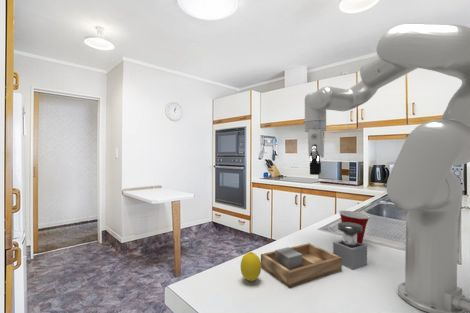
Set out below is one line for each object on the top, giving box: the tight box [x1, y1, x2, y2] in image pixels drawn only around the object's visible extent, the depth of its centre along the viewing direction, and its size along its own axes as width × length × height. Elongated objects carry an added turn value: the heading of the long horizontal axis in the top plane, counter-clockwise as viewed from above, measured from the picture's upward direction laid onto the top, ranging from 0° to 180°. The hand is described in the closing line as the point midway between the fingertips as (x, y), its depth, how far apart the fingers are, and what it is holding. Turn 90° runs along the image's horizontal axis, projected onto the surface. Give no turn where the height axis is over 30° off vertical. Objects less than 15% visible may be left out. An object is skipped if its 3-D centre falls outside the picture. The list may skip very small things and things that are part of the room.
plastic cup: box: [338, 210, 371, 244], centre depth 94 cm, size 11×11×12 cm
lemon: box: [240, 251, 262, 282], centre depth 66 cm, size 6×6×8 cm
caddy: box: [260, 242, 343, 289], centre depth 73 cm, size 13×20×6 cm, turn 118°
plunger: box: [337, 221, 362, 248], centre depth 77 cm, size 7×7×8 cm
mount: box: [332, 239, 368, 270], centre depth 77 cm, size 7×7×6 cm
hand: (315, 173), depth 89 cm, fingers open, 9 cm apart
